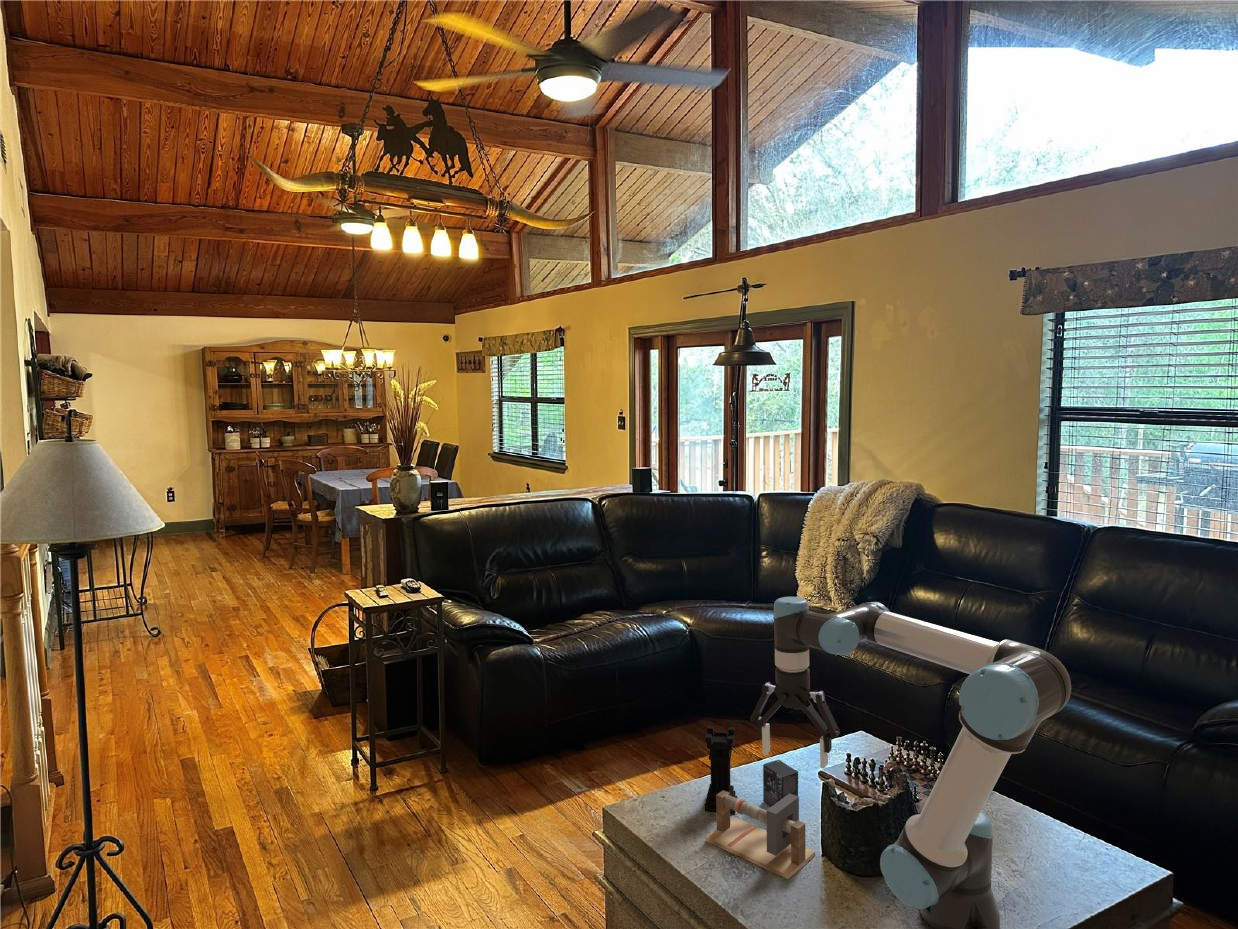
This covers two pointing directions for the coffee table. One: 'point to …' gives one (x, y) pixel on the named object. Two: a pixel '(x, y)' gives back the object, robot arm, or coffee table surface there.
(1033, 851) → the coffee table surface
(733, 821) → the pipe rig
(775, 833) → the ring
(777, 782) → the box
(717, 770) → the chess piece
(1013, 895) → the coffee table surface
